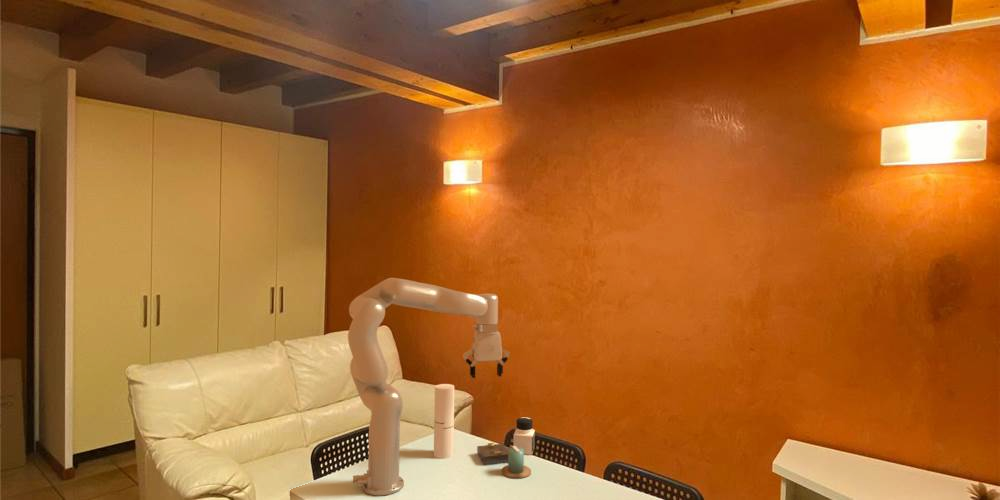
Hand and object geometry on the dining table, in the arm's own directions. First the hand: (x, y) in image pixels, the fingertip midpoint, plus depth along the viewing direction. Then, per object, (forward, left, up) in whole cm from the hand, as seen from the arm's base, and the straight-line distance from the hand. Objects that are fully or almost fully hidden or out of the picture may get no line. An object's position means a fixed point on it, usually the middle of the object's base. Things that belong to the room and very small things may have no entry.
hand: (486, 376), depth 179 cm
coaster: (+8, -11, -30) cm, 33 cm away
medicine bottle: (+17, +6, -31) cm, 35 cm away
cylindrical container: (-13, +10, -31) cm, 35 cm away
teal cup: (+8, -11, -30) cm, 33 cm away
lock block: (+4, +2, -30) cm, 31 cm away
